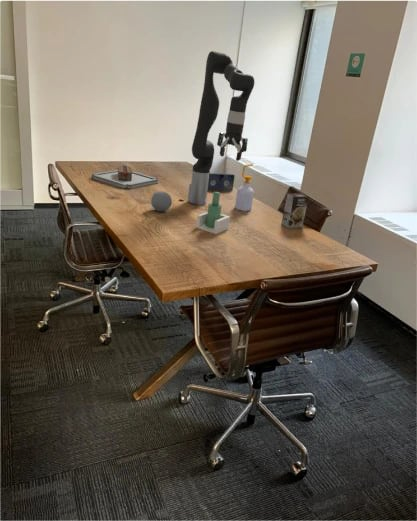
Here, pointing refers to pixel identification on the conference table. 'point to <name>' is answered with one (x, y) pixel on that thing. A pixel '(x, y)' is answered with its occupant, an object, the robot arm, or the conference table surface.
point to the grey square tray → (124, 178)
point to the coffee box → (294, 210)
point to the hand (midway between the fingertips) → (229, 158)
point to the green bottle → (213, 210)
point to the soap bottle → (244, 194)
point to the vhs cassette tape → (221, 182)
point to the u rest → (219, 225)
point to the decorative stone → (161, 201)
